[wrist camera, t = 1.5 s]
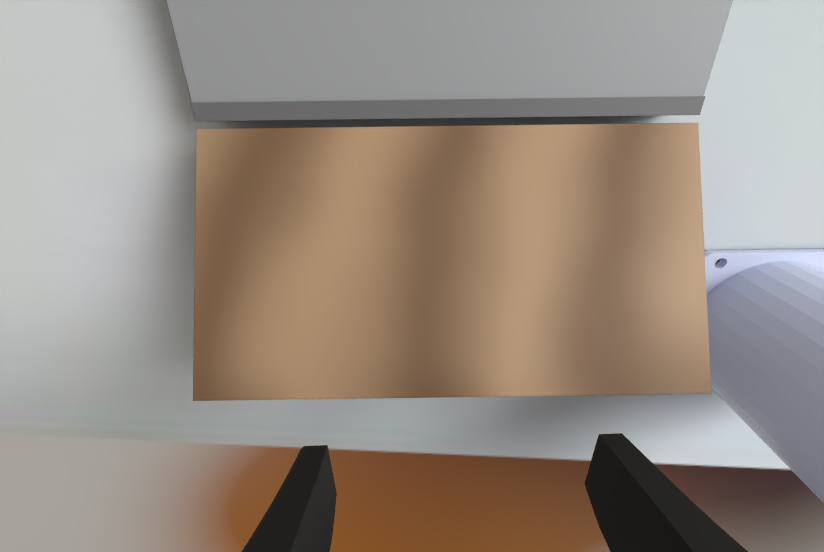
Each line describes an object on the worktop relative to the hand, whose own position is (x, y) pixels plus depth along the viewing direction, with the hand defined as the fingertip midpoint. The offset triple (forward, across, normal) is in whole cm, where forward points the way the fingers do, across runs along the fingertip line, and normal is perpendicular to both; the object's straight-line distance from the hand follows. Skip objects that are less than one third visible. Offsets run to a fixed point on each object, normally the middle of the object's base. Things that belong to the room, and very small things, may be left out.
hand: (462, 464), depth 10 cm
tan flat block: (+7, 0, -3) cm, 7 cm away
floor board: (+10, 0, -12) cm, 15 cm away
